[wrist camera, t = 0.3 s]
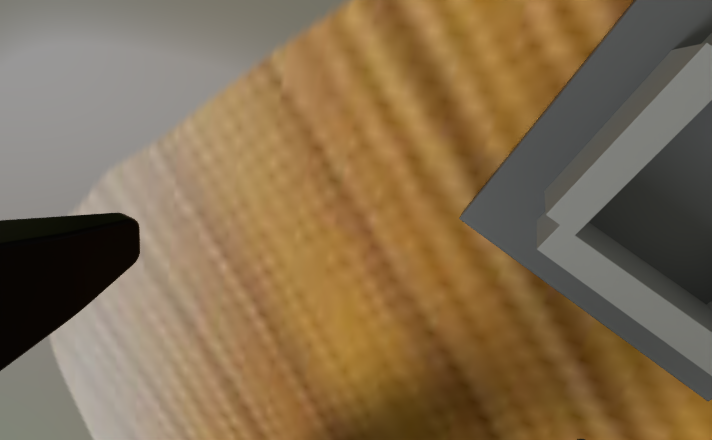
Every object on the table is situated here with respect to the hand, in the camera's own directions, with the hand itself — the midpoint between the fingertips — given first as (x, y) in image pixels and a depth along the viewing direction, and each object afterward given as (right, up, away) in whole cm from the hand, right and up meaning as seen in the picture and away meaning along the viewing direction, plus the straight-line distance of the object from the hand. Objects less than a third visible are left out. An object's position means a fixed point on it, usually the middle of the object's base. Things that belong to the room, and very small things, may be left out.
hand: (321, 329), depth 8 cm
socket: (+14, +3, +9) cm, 17 cm away
